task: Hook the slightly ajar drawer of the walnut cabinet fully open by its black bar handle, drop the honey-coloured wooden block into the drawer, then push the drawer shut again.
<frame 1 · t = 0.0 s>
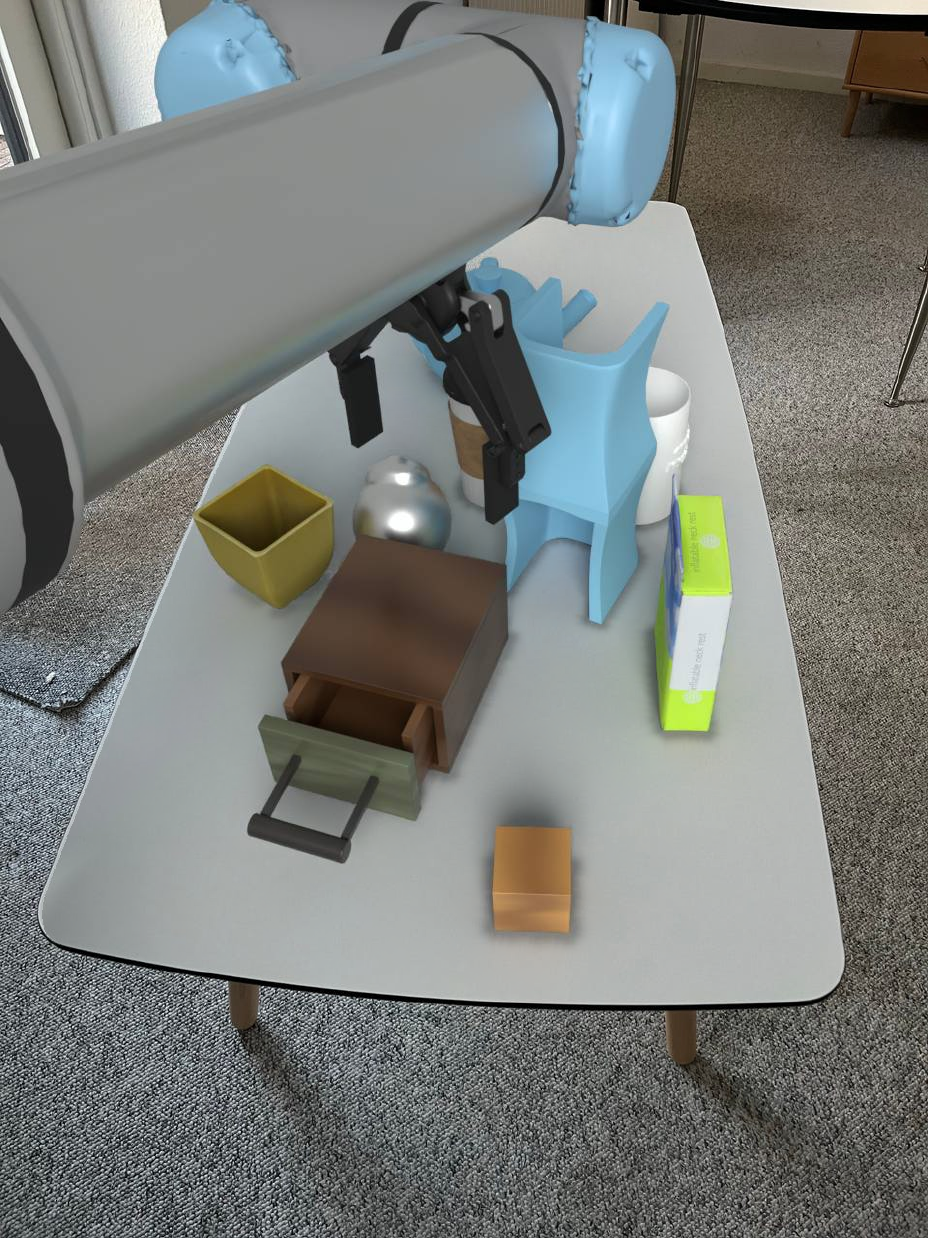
hand: (432, 474, 78), 17 cm above the table, tool pointing down, fingers open, 13 cm apart
block: (532, 898, 73), on the table
drawer: (356, 738, 78), point 4 cm above the table, slide at 4.0 cm
cabinet: (407, 684, 87), on the table
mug: (639, 486, 103), on the table
blue doll chair: (572, 572, 95), on the table
flower pot: (281, 585, 96), on the table
box: (678, 682, 86), on the table
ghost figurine: (406, 555, 98), on the table
teapot: (494, 366, 118), on the table
coffee cup: (493, 490, 104), on the table
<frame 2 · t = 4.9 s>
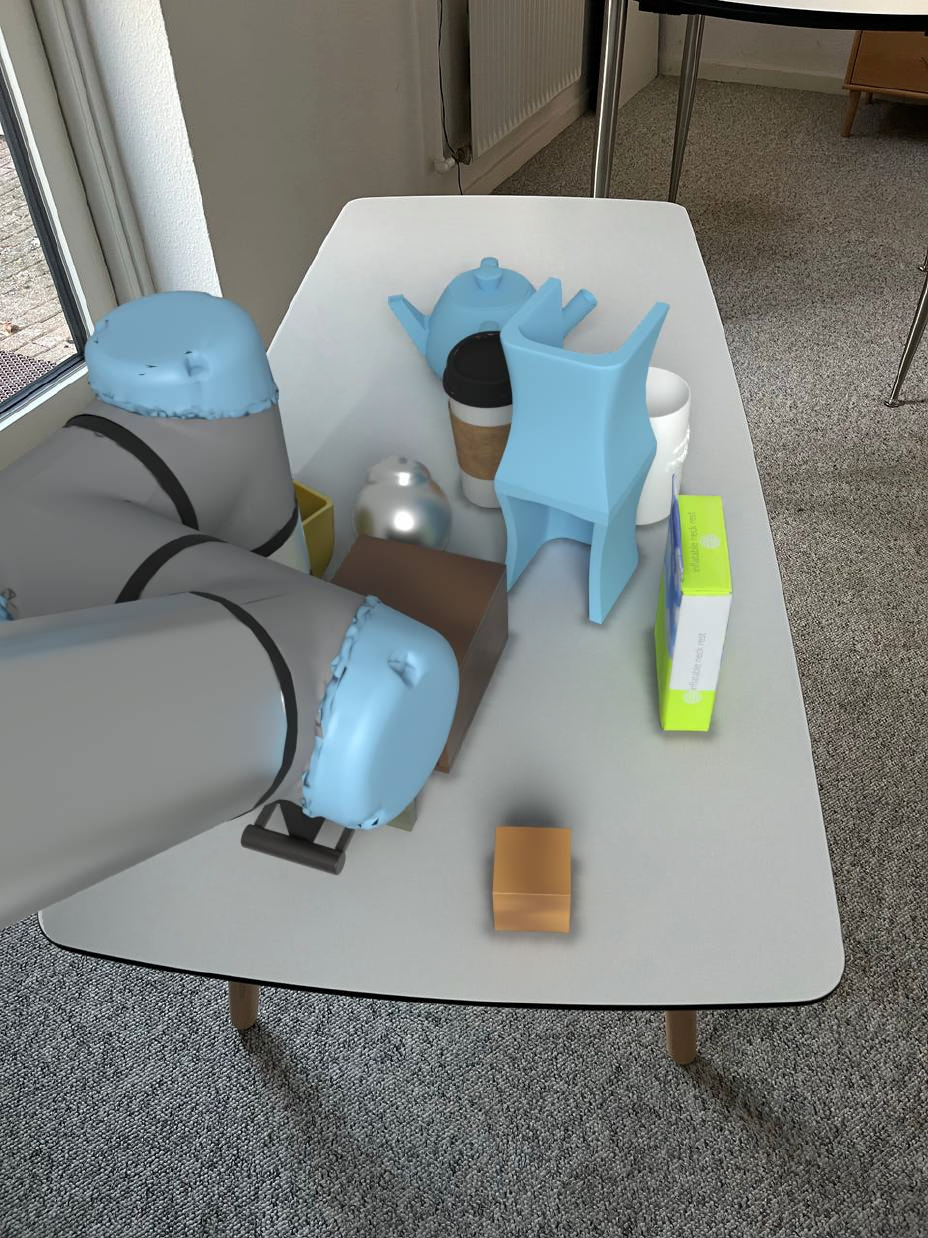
hand: (309, 828, 73), 4 cm above the table, tool pointing down, fingers closed
drawer: (351, 748, 78), point 4 cm above the table, slide at 4.9 cm, touching gripper
everything else where it was.
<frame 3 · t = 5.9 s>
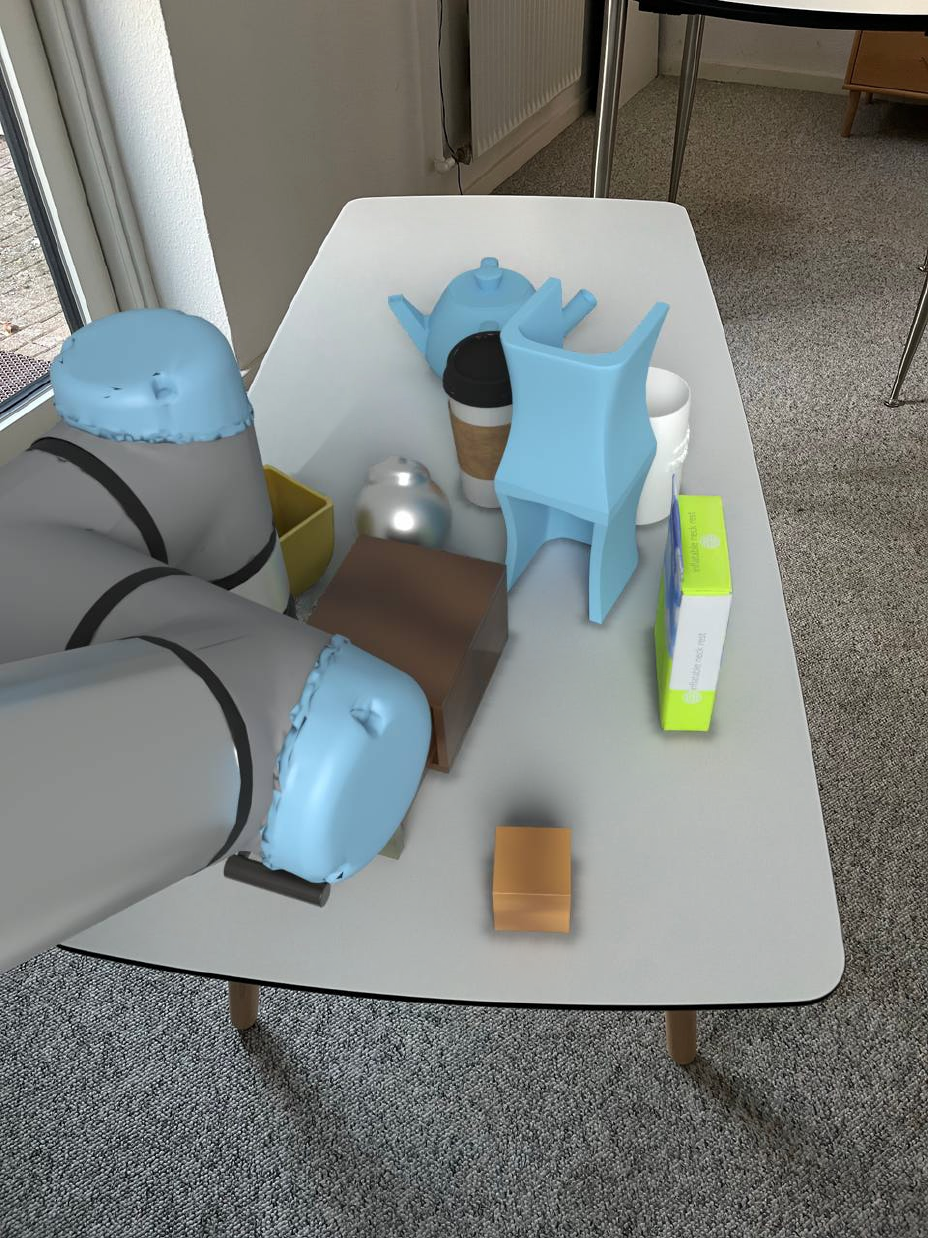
hand: (293, 854, 71), 5 cm above the table, tool pointing down, fingers closed
drawer: (337, 774, 76), point 4 cm above the table, slide at 7.3 cm
everything else where it was.
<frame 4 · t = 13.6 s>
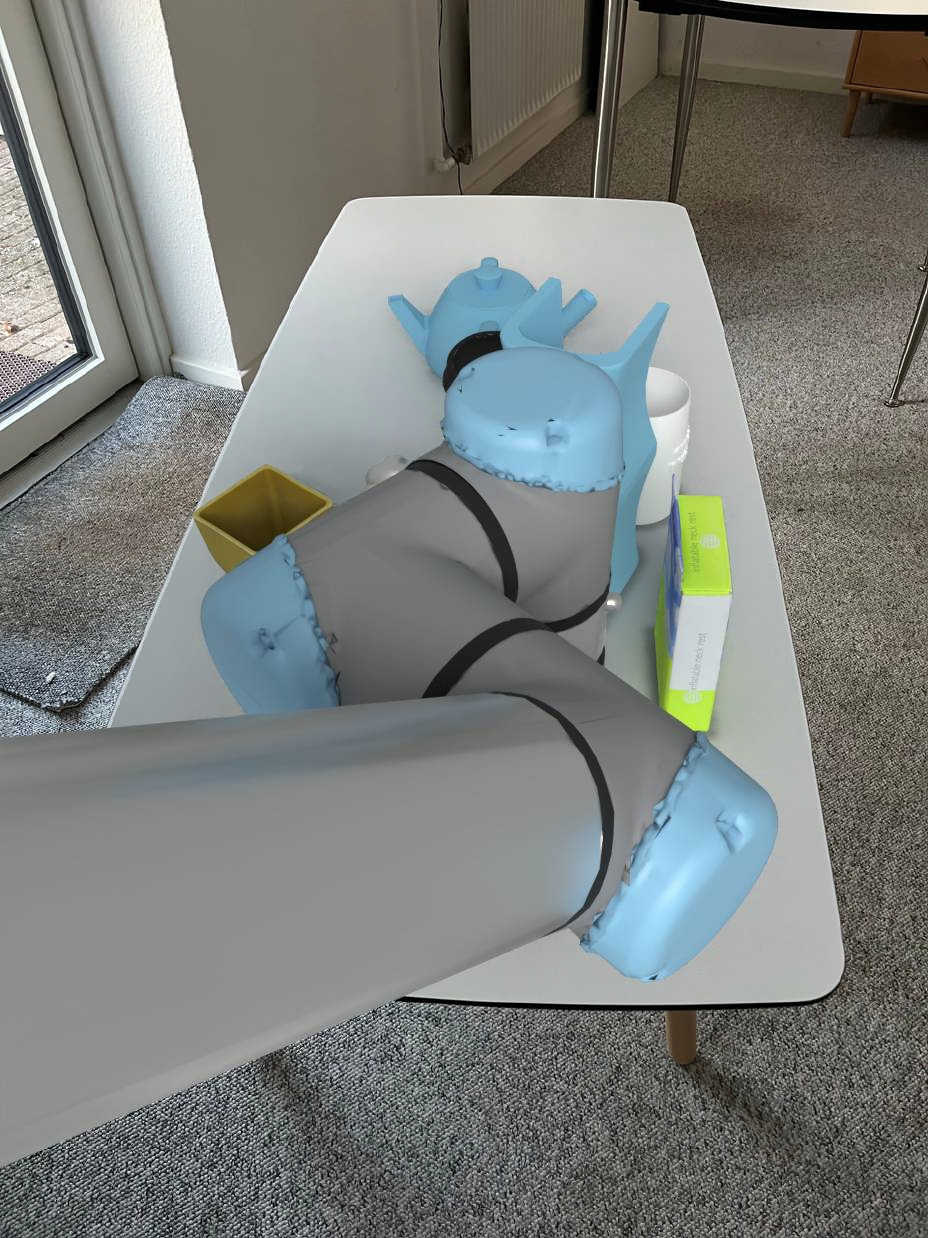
hand: (528, 878, 71), 3 cm above the table, tool pointing down, fingers closed on block, 5 cm apart
block: (528, 881, 71), point 3 cm above the table, touching gripper
everything else where it was.
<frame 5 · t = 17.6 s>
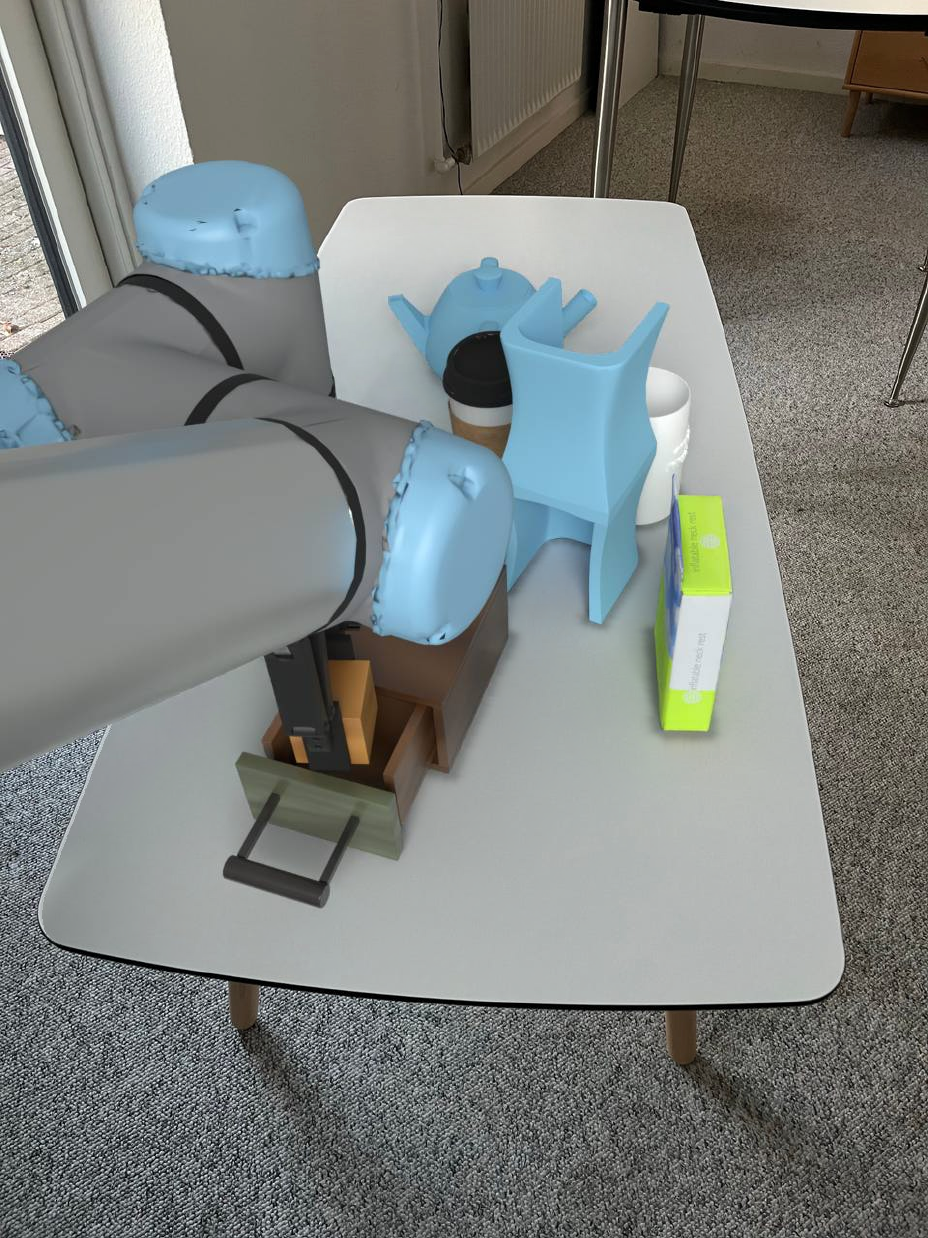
hand: (336, 731, 74), 8 cm above the table, tool pointing down, fingers closed on block, 5 cm apart
block: (338, 734, 74), point 8 cm above the table, touching gripper
drawer: (337, 775, 76), point 4 cm above the table, slide at 7.4 cm, touching gripper
everything else where it was.
when the fingers open (8 cm above the table, at t = 20.8 s): block drops 6 cm, resting on drawer.
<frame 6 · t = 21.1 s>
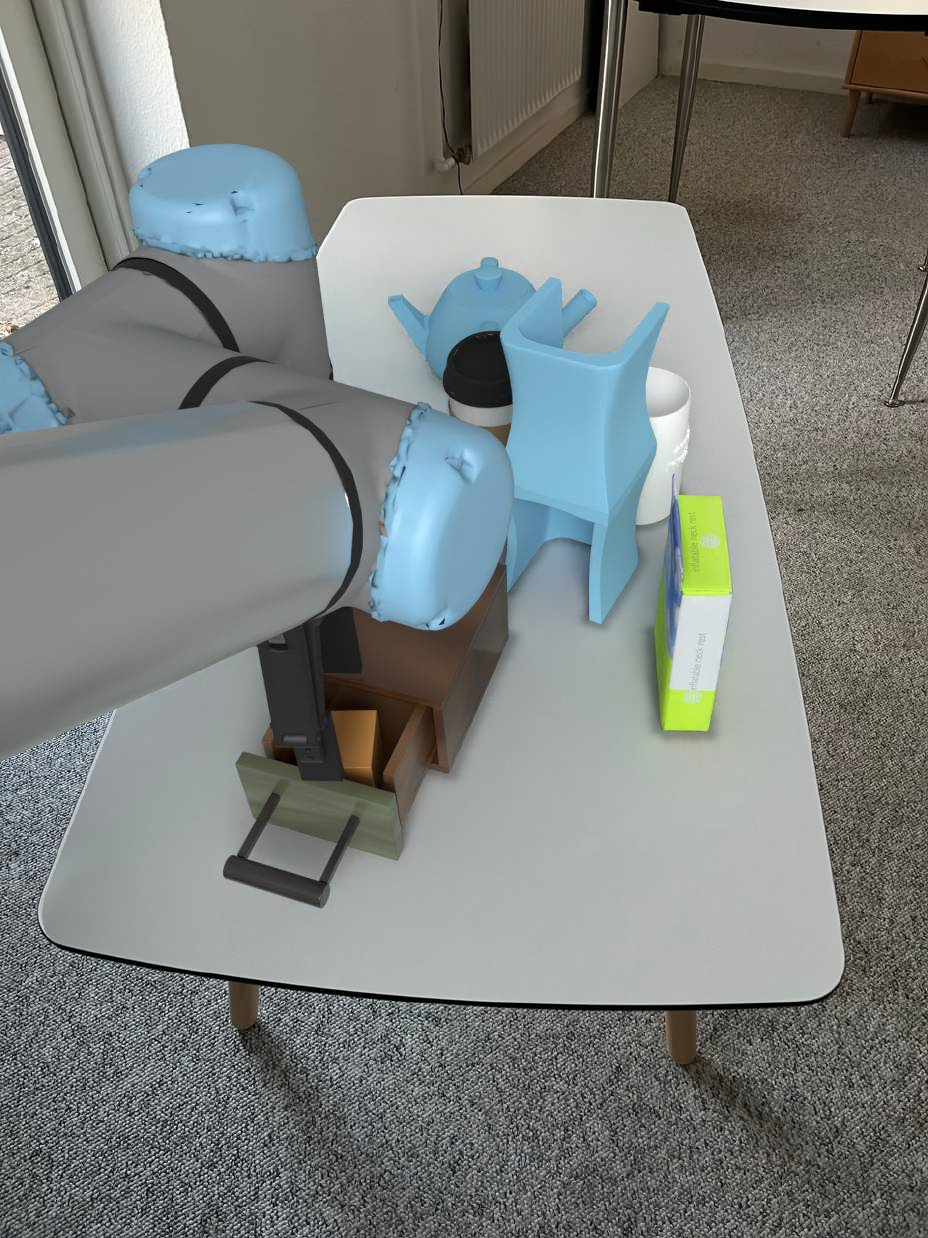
hand: (333, 720, 73), 9 cm above the table, tool pointing down, fingers open, 8 cm apart
block: (347, 779, 78), point 2 cm above the table, touching drawer
drawer: (337, 775, 76), point 4 cm above the table, slide at 7.4 cm, touching block
everything else where it was.
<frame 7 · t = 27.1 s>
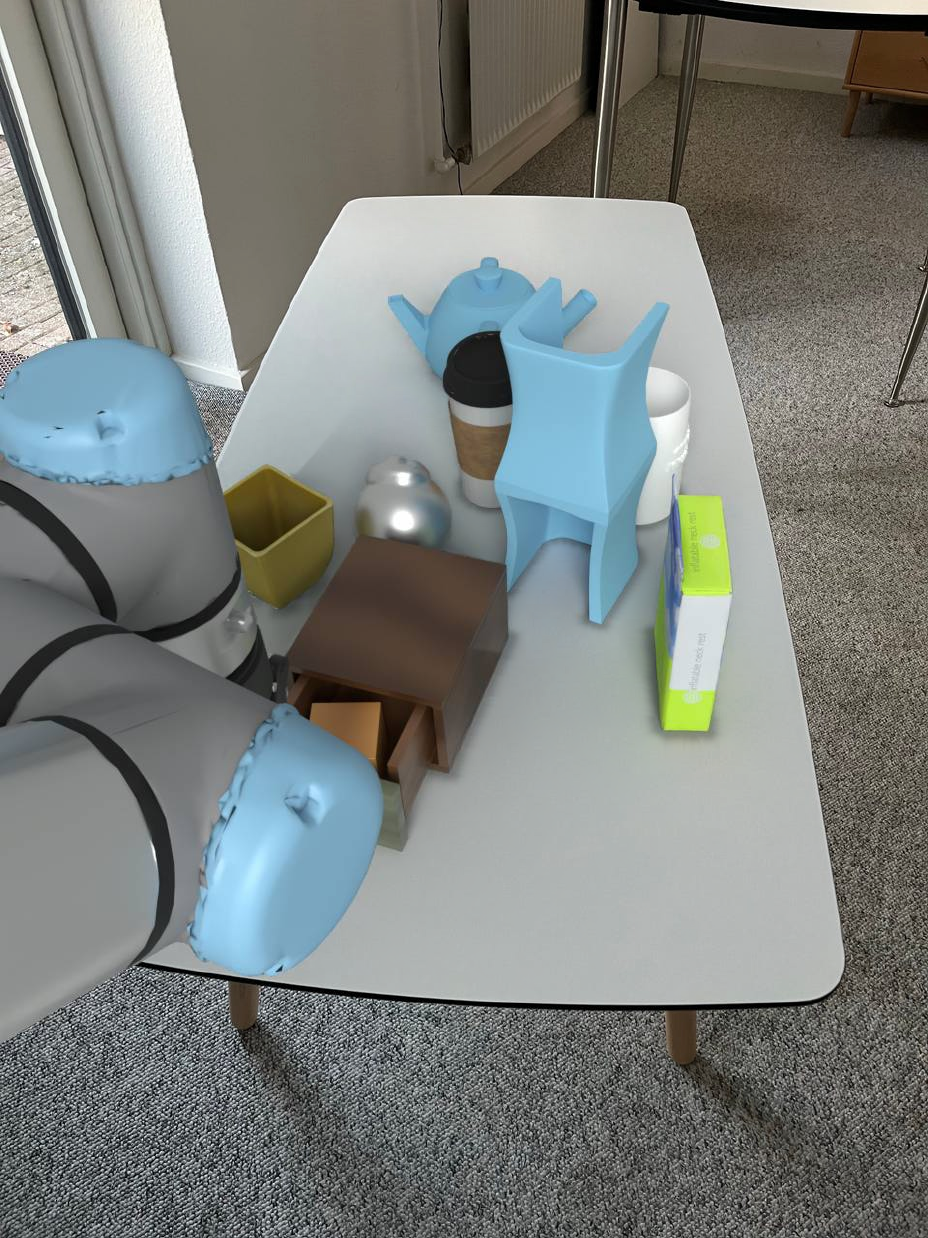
hand: (271, 889, 69), 5 cm above the table, tool pointing down, fingers closed
drawer: (341, 766, 76), point 4 cm above the table, slide at 6.6 cm, touching block, gripper
everything else where it was.
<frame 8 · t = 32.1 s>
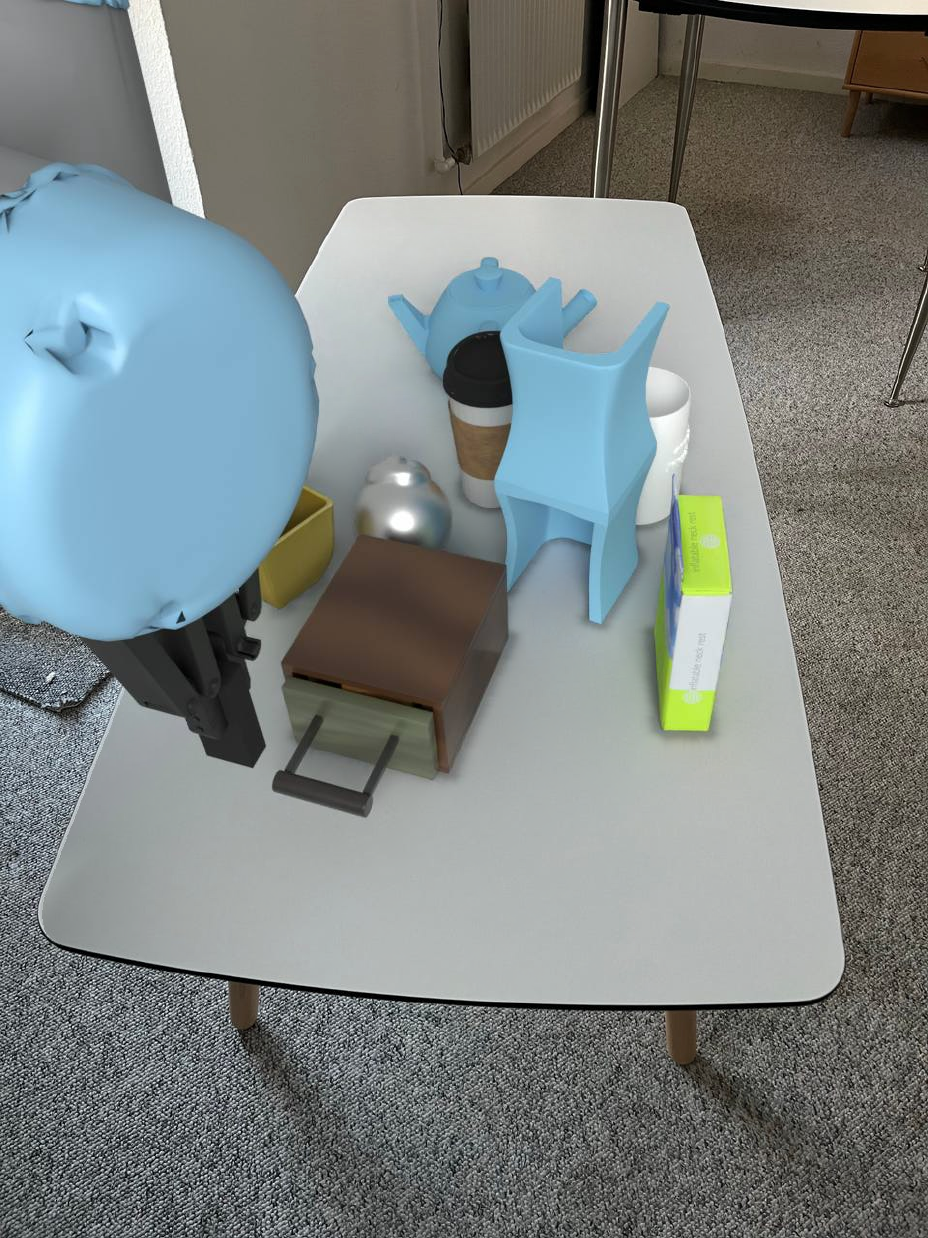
hand: (236, 750, 55), 22 cm above the table, tool pointing down, fingers closed
block: (384, 707, 83), point 2 cm above the table, touching drawer
drawer: (376, 700, 81), point 4 cm above the table, slide at 0.3 cm, touching block
everything else where it was.
at the end: block inside the target area in the cabinet (4.2 cm from its centre), point 2.0 cm above the cabinet's base; drawer slide at 0.3 cm; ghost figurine moved 0.2 cm from its start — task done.
